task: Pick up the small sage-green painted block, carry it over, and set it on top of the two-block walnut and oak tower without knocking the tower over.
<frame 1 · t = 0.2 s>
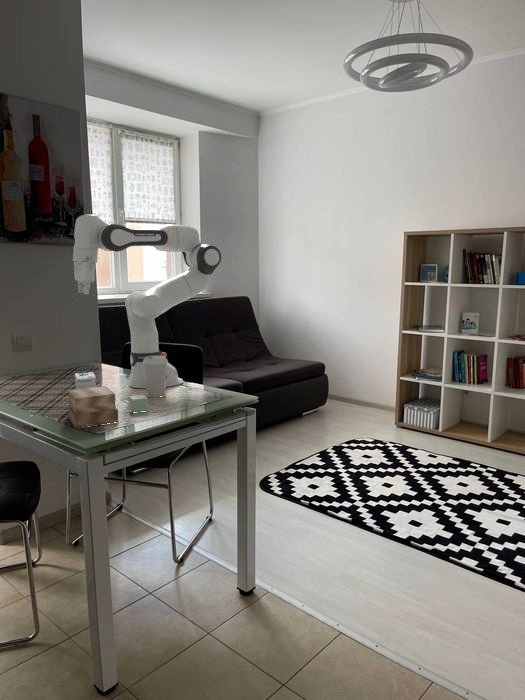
hand: (83, 293, 199), 39 cm above the table, tool pointing down, fingers open, 8 cm apart
light bulb box: (86, 404, 186), on the table
sage block: (138, 411, 178), on the table
walnut base block: (93, 422, 166), on the table
coffee cup: (156, 396, 199), on the table
oak top block: (92, 407, 166), point 5 cm above the table
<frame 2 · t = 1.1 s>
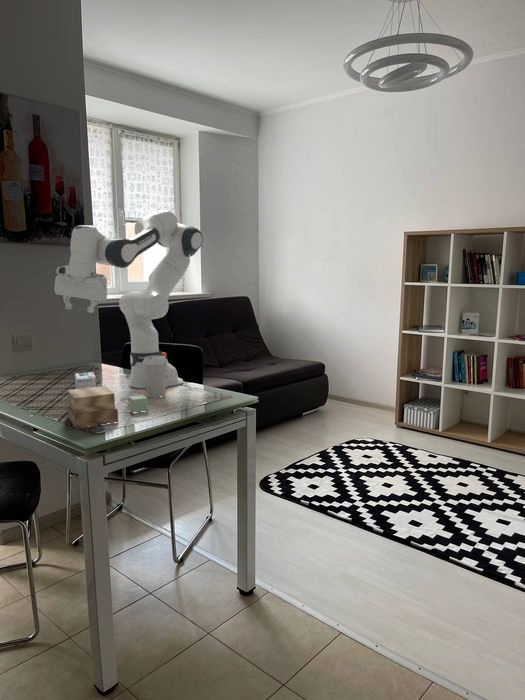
hand: (79, 310, 183), 34 cm above the table, tool pointing down, fingers open, 8 cm apart
nothing on the table moved.
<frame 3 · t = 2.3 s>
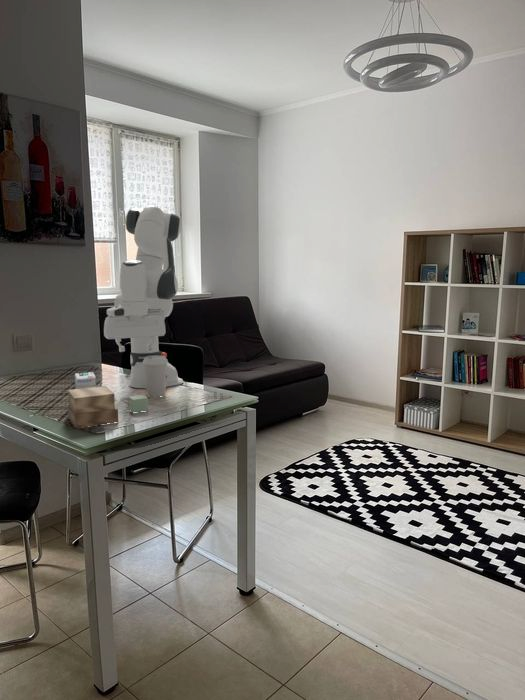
hand: (136, 350, 174), 21 cm above the table, tool pointing down, fingers open, 8 cm apart
walnut base block: (93, 421, 166), on the table, touching oak top block
oak top block: (91, 407, 166), point 5 cm above the table, touching walnut base block
everything else where it was.
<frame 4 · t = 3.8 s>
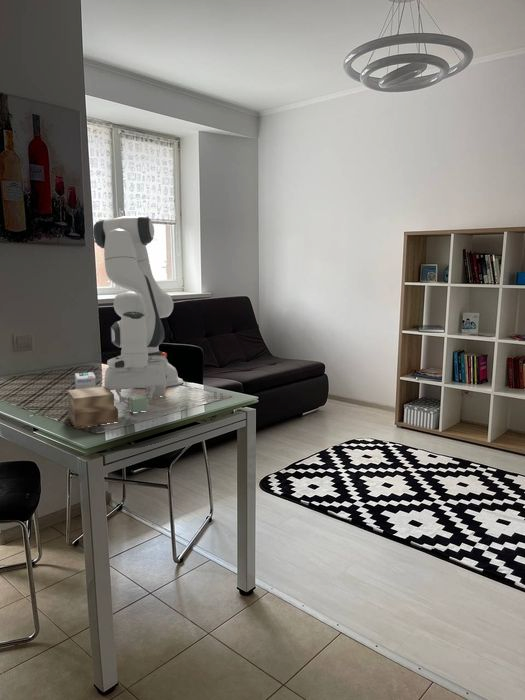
hand: (136, 400, 176), 4 cm above the table, tool pointing down, fingers open, 8 cm apart
nothing on the table moved.
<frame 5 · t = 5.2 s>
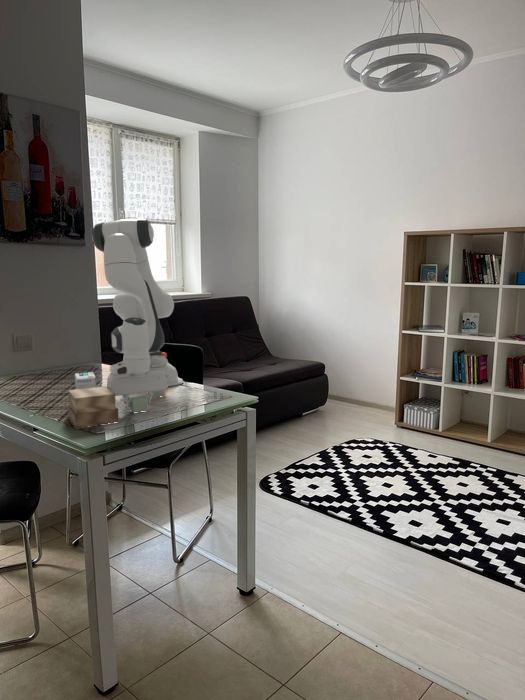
hand: (138, 405, 177), 2 cm above the table, tool pointing down, fingers closed on sage block, 5 cm apart
sage block: (138, 411, 178), on the table, touching gripper
everything else where it was.
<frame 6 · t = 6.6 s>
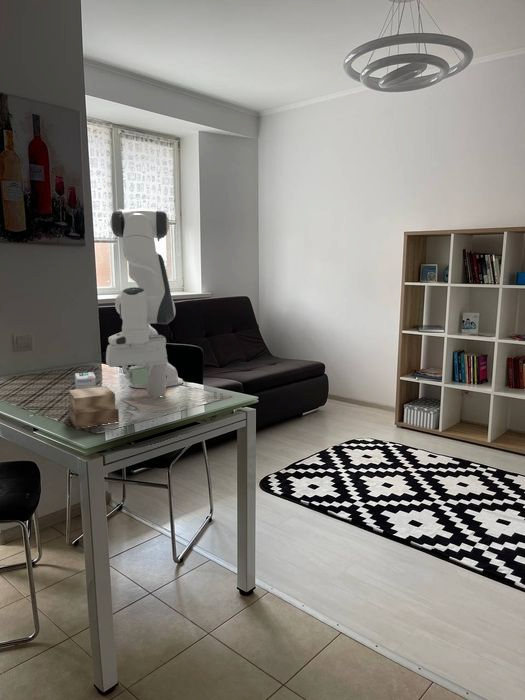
hand: (138, 376, 176), 12 cm above the table, tool pointing down, fingers closed on sage block, 5 cm apart
sage block: (138, 382, 177), point 10 cm above the table, touching gripper
walnut base block: (93, 422, 166), on the table
oak top block: (92, 407, 166), point 5 cm above the table
everything else where it was.
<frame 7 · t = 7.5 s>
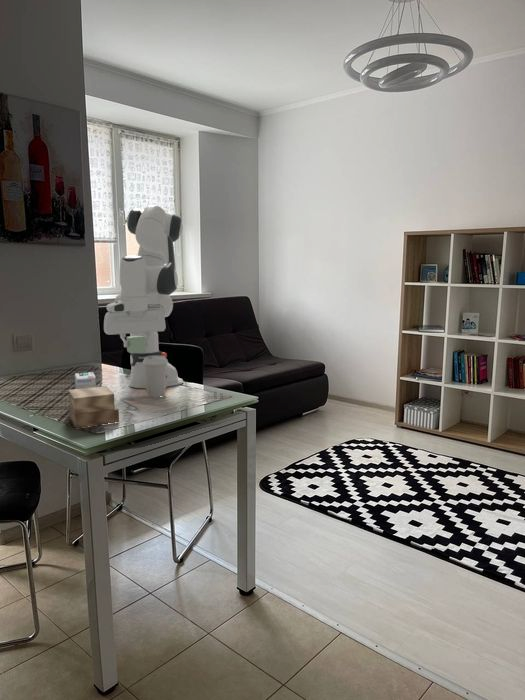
hand: (136, 346, 174), 23 cm above the table, tool pointing down, fingers closed on sage block, 5 cm apart
sage block: (136, 351, 174), point 21 cm above the table, touching gripper
everything else where it was.
when the fingers open (13 cm above the table, at t = 11.4 s): sage block drops 2 cm, resting on oak top block.
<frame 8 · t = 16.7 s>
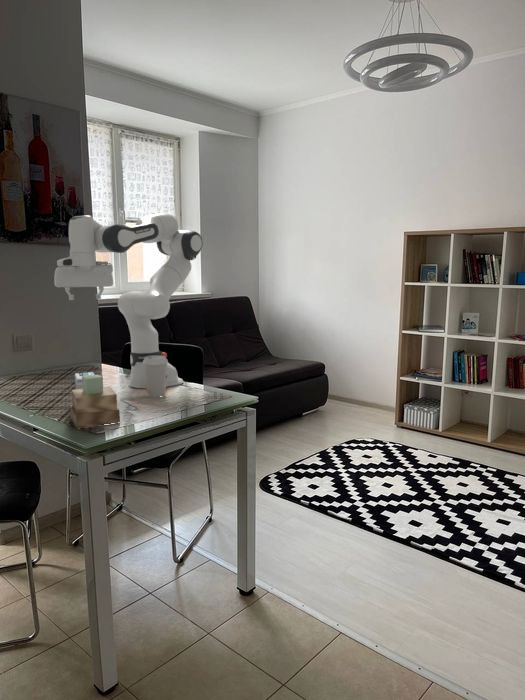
hand: (85, 299, 189), 37 cm above the table, tool pointing down, fingers open, 8 cm apart
sage block: (93, 392, 165), point 9 cm above the table, touching oak top block
walnut base block: (95, 422, 166), on the table, touching oak top block
oak top block: (94, 407, 166), point 4 cm above the table, touching sage block, walnut base block
everything else where it was.
at the end: sage block 0.3 cm off-centre on the oak top block, point 5.0 cm above the oak top block's base; oak top block 0.8 cm from the target spot, point 4.5 cm above the table; sage block tilted 0° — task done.
